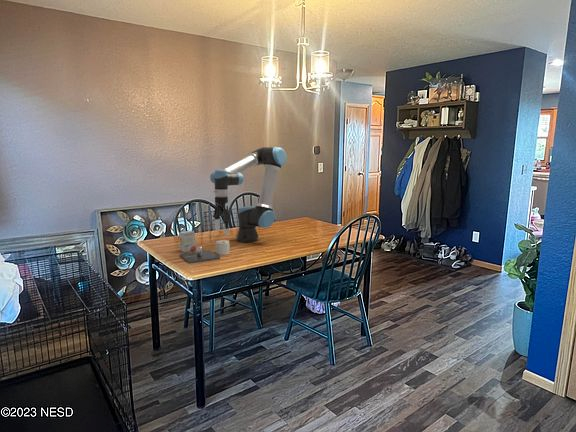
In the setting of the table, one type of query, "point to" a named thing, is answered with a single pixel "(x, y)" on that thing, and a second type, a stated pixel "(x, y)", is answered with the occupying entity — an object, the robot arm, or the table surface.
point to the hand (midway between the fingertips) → (221, 231)
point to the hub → (199, 256)
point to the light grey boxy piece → (222, 247)
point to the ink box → (187, 241)
